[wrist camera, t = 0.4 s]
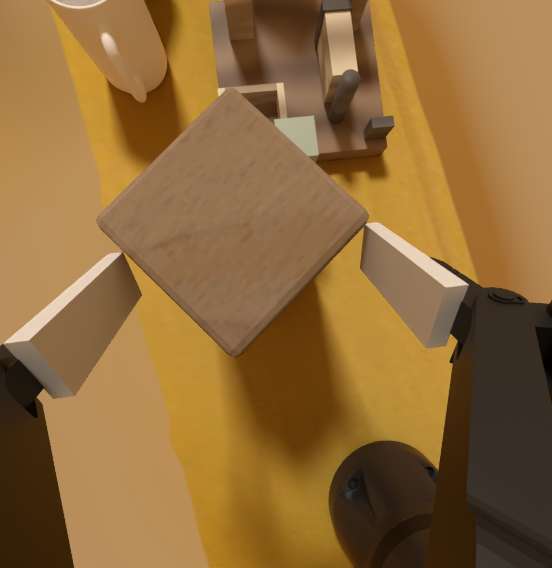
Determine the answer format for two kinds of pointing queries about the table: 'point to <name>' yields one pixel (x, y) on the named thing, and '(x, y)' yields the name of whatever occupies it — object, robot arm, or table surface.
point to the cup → (118, 41)
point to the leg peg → (300, 133)
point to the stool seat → (301, 71)
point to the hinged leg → (334, 44)
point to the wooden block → (232, 221)
